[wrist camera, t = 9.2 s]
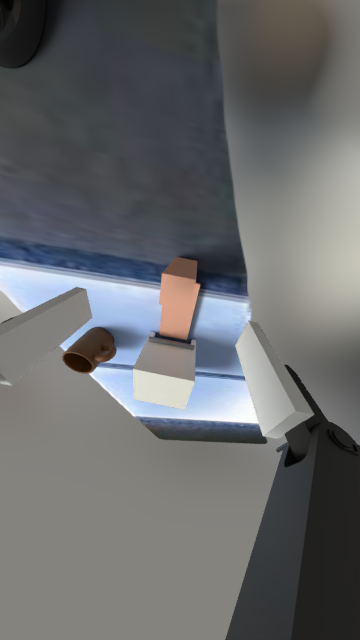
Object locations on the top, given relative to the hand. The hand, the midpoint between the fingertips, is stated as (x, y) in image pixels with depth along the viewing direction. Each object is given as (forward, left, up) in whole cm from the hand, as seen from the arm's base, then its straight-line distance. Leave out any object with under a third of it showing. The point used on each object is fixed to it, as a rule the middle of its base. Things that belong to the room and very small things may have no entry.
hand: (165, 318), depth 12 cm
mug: (+22, -18, -19) cm, 34 cm away
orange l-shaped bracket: (+8, 0, -19) cm, 20 cm away
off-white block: (+23, 0, -19) cm, 30 cm away
